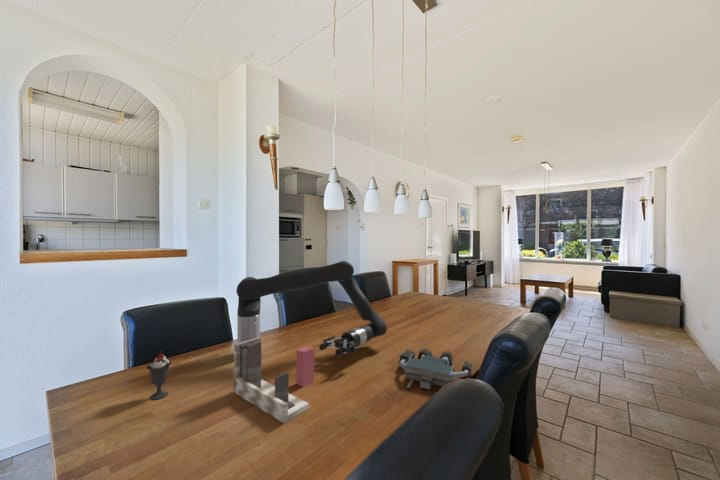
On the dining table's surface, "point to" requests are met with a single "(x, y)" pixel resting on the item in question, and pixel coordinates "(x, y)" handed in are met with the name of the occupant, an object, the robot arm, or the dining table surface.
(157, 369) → the sundae
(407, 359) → the toy
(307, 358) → the book
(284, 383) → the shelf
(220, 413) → the dining table surface
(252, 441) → the dining table surface
